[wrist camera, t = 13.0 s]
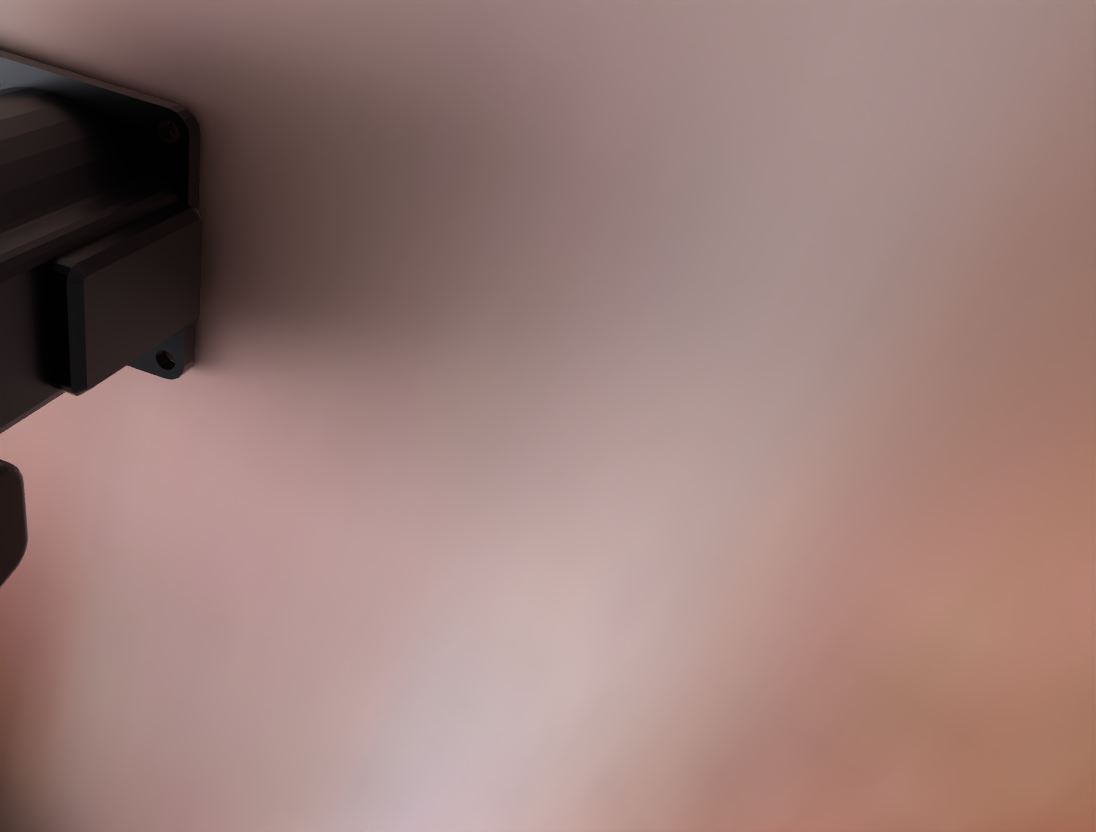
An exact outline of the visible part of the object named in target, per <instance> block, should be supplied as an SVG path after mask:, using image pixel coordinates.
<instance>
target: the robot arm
mask: <svg viewBox="0 0 1096 832" xmlns="http://www.w3.org/2000/svg"><path fill="white" fill-rule="evenodd" d="M169 120H170V121H171V122H173V123H174V124H175V126H176V127H177V128H178V132H179V138H178V139H177V138H175V137H173V135H172V134H171V132H170V130H169V126H168V124H169ZM199 166H200V128H199V124H198V122H197V120H196V118H195V116H194V115H193V114H192V113H191V112H190V111H189V110H188V109H187V108H185V107H184V106H182V105H180V104H176V103H173V102H170V101H167V100H163V99H160V98H157V97H153V96H150V95H147V94H144V93H140V92H137V91H134V90H130V89H127V88H124V87H121V86H117V85H114V84H111V83H107V82H104V81H101V80H98V79H94V78H91V77H88V76H84V75H81V74H78V73H75V72H71V71H68V70H65V69H61V68H58V67H55V66H52V65H48V64H45V63H42V62H38V61H35V60H32V59H28V58H25V57H22V56H19V55H15V54H12V53H9V52H5V51H2V50H0V434H1V433H2V432H4V431H5V430H7V429H8V428H10V427H11V426H13V425H15V424H16V423H18V422H19V421H21V420H22V419H24V418H26V417H27V416H29V415H30V414H32V413H33V412H35V411H37V410H38V409H40V408H41V407H43V406H44V405H46V404H47V403H49V402H51V401H52V400H54V399H55V398H57V397H58V396H60V395H62V394H63V393H65V392H67V393H70V394H73V395H76V396H78V395H81V394H83V393H85V392H87V391H88V390H90V389H91V388H93V387H94V386H96V385H97V384H99V383H100V382H102V381H103V380H105V379H106V378H108V377H110V376H111V375H113V374H114V373H116V372H117V371H119V370H120V369H122V368H123V367H125V366H126V365H128V366H131V367H133V368H136V369H139V370H142V371H145V372H148V373H151V374H154V375H157V376H160V377H162V378H166V379H176V378H179V377H180V376H182V375H183V374H184V373H186V372H187V371H188V370H189V369H190V368H191V367H192V366H193V362H194V340H195V320H196V319H197V318H198V317H199V308H200V276H201V244H202V219H201V217H200V214H199V212H198V201H199ZM166 351H167V352H168V353H170V354H171V355H172V357H173V358H174V361H175V363H174V362H173V361H171V360H170V359H169V358H168V356H167V354H166ZM27 542H28V530H27V517H26V505H25V492H24V481H23V476H22V474H21V473H20V471H19V469H18V468H17V467H16V466H14V465H13V464H11V463H8V462H6V461H3V460H0V588H1V586H2V585H3V584H4V583H5V582H6V580H7V579H8V578H9V577H10V575H11V574H12V573H13V572H14V570H15V569H16V568H17V566H18V565H19V563H20V562H21V560H22V558H23V556H24V553H25V551H26V547H27Z"/></svg>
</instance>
